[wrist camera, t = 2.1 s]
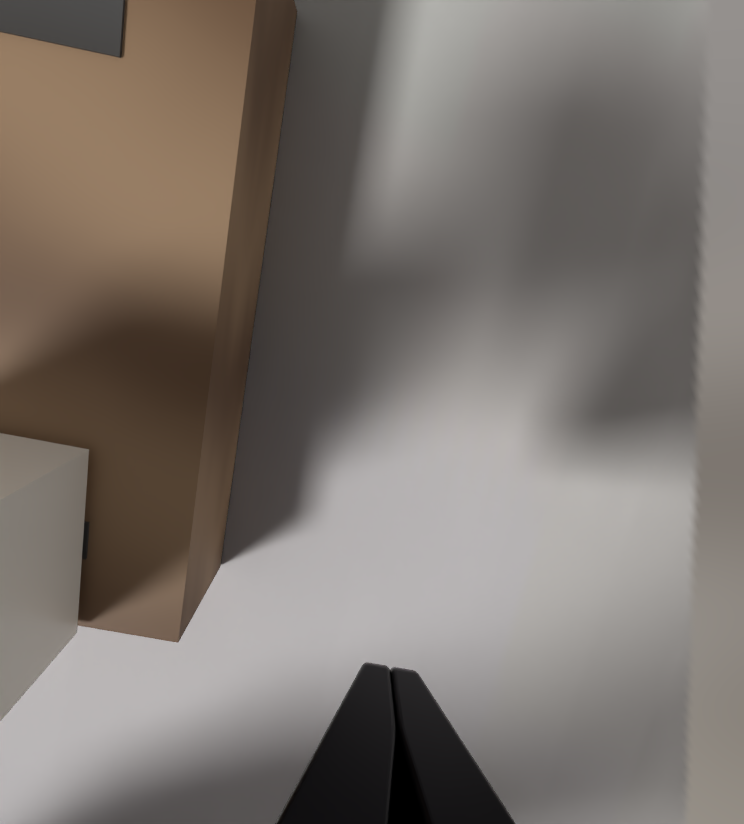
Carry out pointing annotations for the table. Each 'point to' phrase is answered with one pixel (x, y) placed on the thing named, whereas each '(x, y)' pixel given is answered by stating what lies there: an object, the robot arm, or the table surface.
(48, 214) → the board
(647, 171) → the table surface
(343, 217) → the table surface
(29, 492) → the block
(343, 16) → the table surface
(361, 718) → the robot arm
